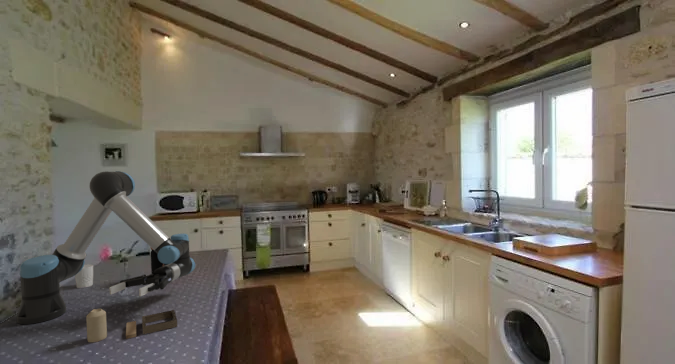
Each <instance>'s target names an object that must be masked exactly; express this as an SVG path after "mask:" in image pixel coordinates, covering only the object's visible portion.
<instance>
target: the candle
mask: <svg viewBox="0 0 675 364" xmlns="http://www.w3.org/2000/svg"><path fill="white" fill-rule="evenodd" d="M85 318H86V322H85V323H86V336H87V338H86V339H87V342H88V343H98V342H101V341H103V340H105V339H106V338H107V337H108V330H107V327H108V326H107V325H108V324H107V312H106V311H105V310H104V309H102V308H97V309H96V308H94V309H92V310H91V311H89V313H88V314H87V315H86V317H85Z"/></svg>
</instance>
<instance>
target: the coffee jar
mask: <svg viewBox="0 0 675 364" xmlns="http://www.w3.org/2000/svg"><path fill="white" fill-rule="evenodd" d="M149 247H150V246H149ZM150 250H151V251H150V268H151V271H150V272H151V273H150V274H153V273H154V271H155V270H156V269H158V268H160V267H163V266H165V265H168V264H163V263H161V262H160V261H159V259H158V254H157V253H156V252H155V251H154V250H153V249H152V248H151V247H150Z"/></svg>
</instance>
